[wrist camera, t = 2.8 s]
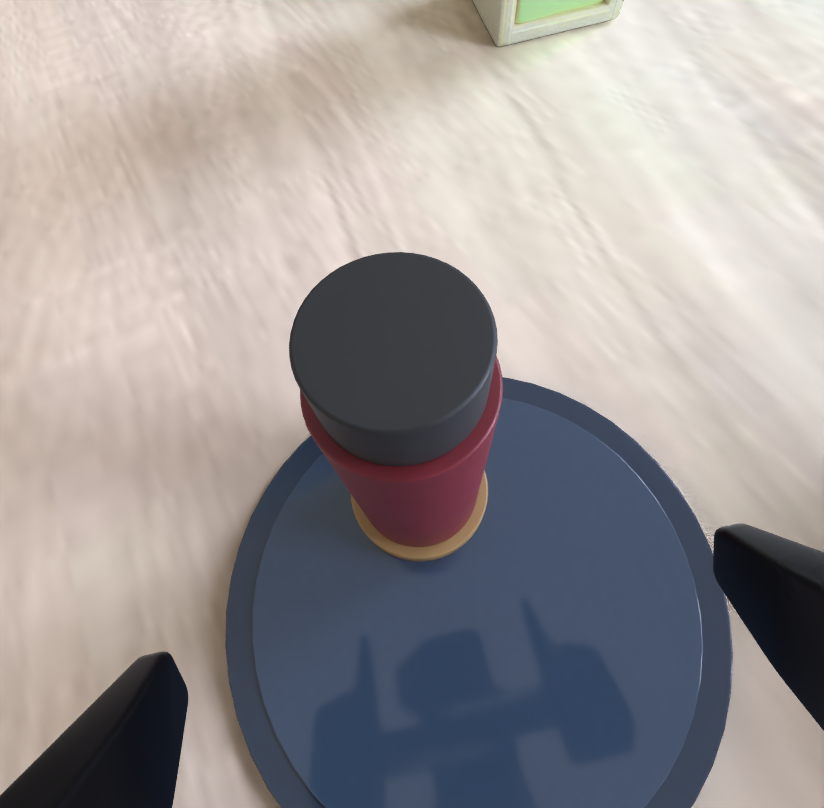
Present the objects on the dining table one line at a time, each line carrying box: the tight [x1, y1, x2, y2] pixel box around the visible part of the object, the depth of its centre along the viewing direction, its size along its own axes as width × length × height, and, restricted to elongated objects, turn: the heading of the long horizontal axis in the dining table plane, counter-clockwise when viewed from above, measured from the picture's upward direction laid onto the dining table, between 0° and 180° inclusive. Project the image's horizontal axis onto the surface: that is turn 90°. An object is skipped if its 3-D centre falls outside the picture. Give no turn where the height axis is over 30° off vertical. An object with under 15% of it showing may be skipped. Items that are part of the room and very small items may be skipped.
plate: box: [226, 377, 733, 808], centre depth 19 cm, size 18×18×1 cm
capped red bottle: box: [289, 252, 503, 561], centre depth 15 cm, size 5×5×12 cm
